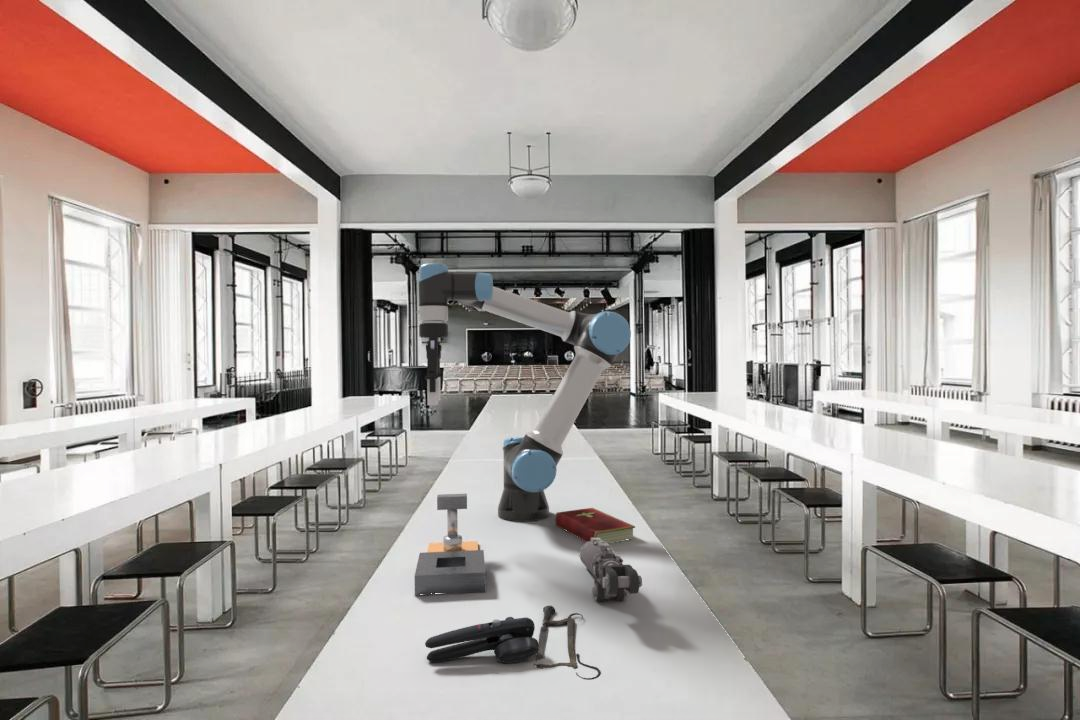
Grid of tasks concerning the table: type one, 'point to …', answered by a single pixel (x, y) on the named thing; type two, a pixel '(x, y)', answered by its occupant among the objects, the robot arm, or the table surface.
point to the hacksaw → (571, 651)
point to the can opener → (487, 641)
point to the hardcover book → (594, 525)
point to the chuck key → (452, 519)
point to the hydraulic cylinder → (608, 571)
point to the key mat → (465, 547)
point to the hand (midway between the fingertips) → (434, 403)
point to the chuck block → (450, 572)
